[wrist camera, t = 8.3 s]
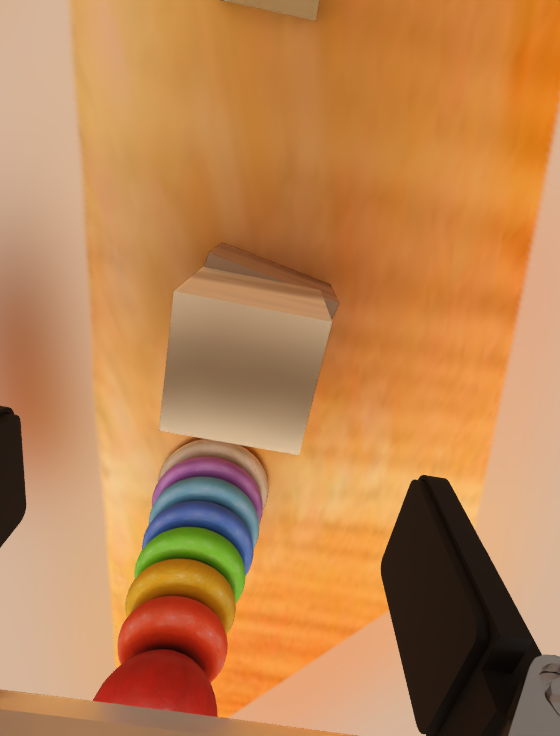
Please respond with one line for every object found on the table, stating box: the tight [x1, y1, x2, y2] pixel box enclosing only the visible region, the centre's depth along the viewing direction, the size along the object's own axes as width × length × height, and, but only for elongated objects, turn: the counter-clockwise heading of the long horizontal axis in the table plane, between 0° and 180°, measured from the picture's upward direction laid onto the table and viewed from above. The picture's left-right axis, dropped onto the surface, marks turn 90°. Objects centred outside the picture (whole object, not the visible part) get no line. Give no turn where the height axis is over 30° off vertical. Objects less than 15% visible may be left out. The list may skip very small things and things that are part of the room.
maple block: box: [159, 267, 332, 455], centre depth 20 cm, size 6×6×6 cm
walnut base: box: [205, 243, 339, 320], centre depth 25 cm, size 7×7×5 cm
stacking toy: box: [93, 439, 268, 717], centre depth 23 cm, size 8×8×19 cm
